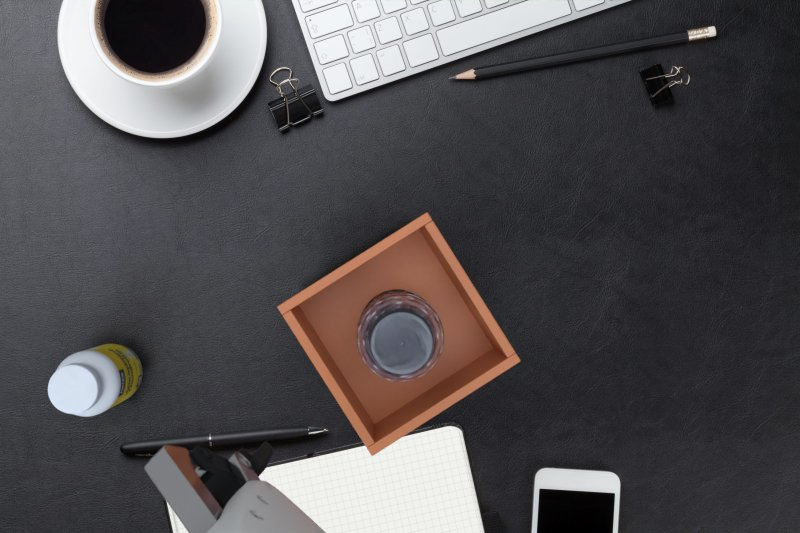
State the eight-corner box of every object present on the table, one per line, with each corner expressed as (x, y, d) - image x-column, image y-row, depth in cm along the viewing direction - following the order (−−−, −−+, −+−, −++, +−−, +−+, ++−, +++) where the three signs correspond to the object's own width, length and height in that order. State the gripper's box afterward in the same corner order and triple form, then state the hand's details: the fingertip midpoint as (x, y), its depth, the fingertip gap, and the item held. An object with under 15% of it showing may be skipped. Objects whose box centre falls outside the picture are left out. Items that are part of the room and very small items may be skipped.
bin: (504, 349, 60) (521, 361, 53) (371, 434, 60) (372, 456, 53) (420, 217, 60) (427, 211, 53) (287, 301, 59) (276, 306, 53)
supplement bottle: (402, 272, 59) (409, 275, 48) (450, 331, 59) (469, 348, 48) (342, 321, 59) (336, 336, 47) (391, 380, 59) (396, 409, 48)
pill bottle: (144, 401, 83) (108, 424, 71) (84, 402, 82) (37, 425, 71) (144, 341, 83) (107, 354, 71) (83, 342, 82) (37, 355, 71)
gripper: (-18, 623, 23) (147, 467, 40) (395, 999, 23) (384, 688, 41) (155, 442, 23) (246, 364, 40) (562, 820, 24) (481, 585, 41)
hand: (316, 527), depth 40 cm, fingers open, 9 cm apart
